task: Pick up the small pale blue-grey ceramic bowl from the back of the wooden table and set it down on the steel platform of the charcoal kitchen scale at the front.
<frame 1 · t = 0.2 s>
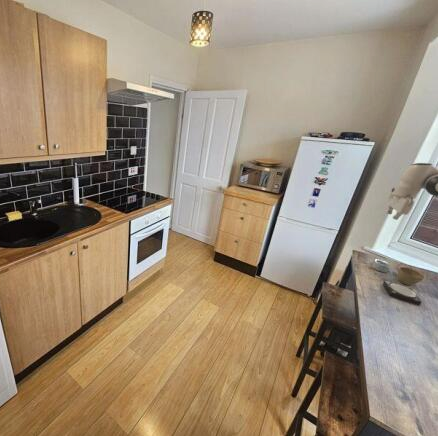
hand: (391, 216, 129), 33 cm above the table, tool pointing down, fingers open, 8 cm apart
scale: (399, 294, 119), on the table
flower pot: (404, 282, 129), on the table
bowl: (378, 269, 139), on the table
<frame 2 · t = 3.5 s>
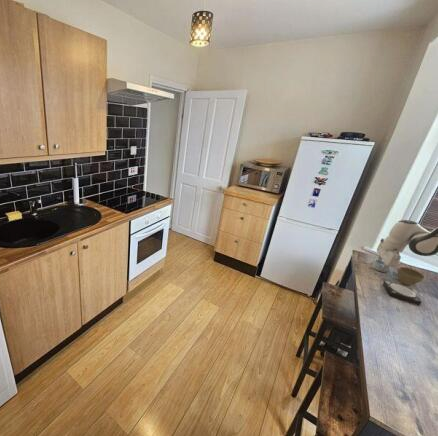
hand: (380, 265, 138), 3 cm above the table, tool pointing down, fingers closed on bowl, 7 cm apart
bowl: (378, 269, 139), on the table, touching gripper
everything else where it was.
when the fingers open (6 cm above the table, at t = 10.4 s): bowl stays where it is, resting on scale.
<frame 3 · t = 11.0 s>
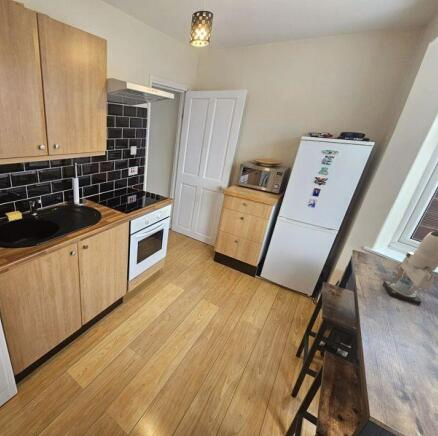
hand: (407, 284, 116), 6 cm above the table, tool pointing down, fingers open, 8 cm apart
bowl: (402, 289, 117), point 3 cm above the table, touching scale
everything else where it was.
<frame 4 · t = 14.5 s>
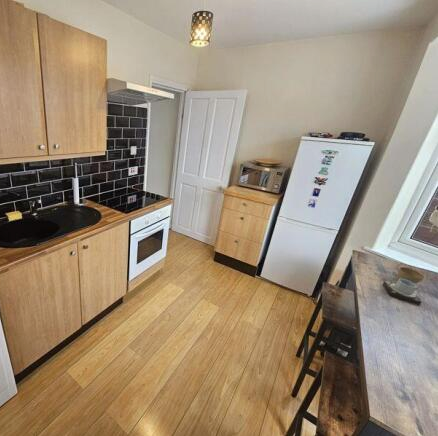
hand: (437, 236, 117), 29 cm above the table, tool pointing down, fingers open, 8 cm apart
nothing on the table moved.
at the end: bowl 0.1 cm off-centre on the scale, point 3.0 cm above the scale's base; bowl tilted 0°; the gripper is holding nothing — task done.
